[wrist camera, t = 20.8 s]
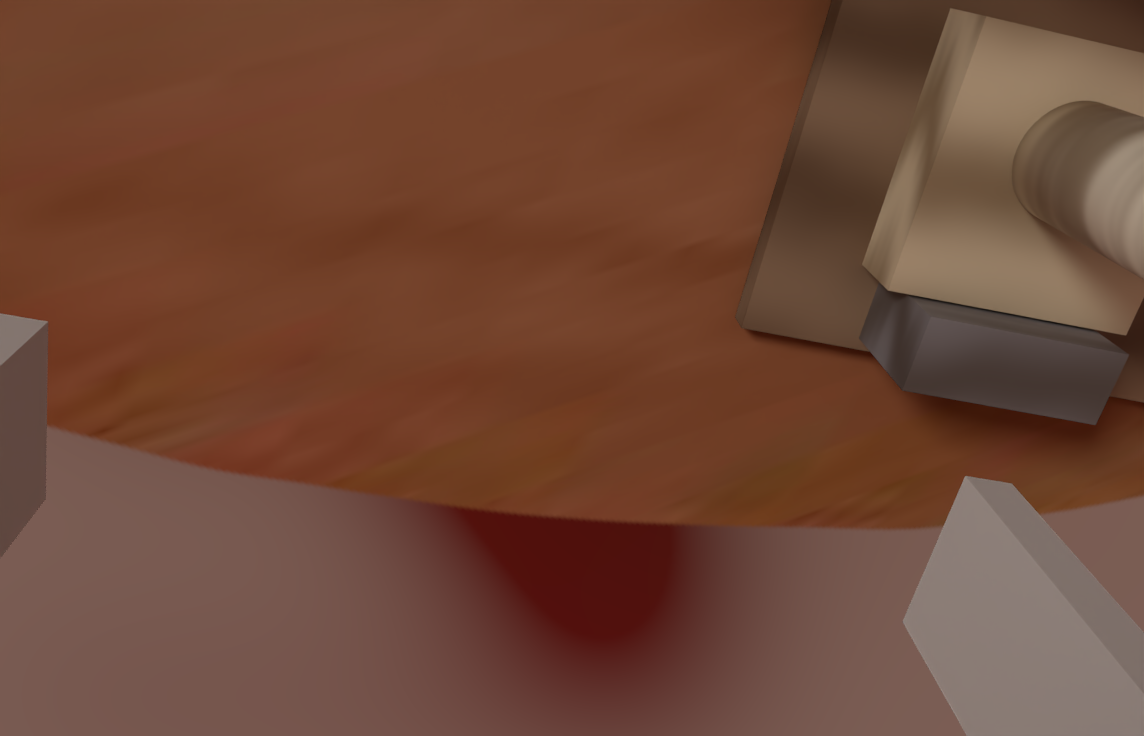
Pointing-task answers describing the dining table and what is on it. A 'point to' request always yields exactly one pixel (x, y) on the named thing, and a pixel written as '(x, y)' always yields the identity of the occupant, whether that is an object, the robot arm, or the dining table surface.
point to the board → (854, 200)
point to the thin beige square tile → (1000, 178)
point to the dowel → (1087, 178)
